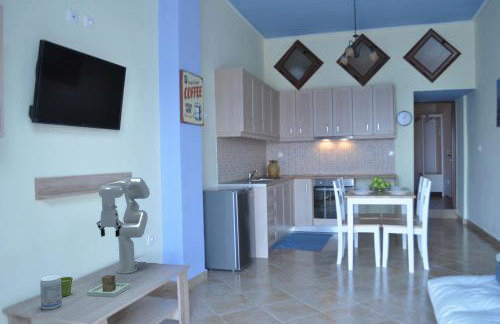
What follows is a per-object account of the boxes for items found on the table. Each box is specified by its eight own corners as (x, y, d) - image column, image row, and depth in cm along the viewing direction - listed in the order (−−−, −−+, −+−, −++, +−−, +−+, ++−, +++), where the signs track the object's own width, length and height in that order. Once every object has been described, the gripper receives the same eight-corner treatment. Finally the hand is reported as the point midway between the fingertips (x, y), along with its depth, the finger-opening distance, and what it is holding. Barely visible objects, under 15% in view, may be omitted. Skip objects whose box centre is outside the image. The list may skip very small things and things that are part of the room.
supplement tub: (42, 305, 212) (40, 276, 211) (62, 302, 215) (61, 274, 215) (40, 311, 203) (39, 281, 202) (61, 308, 206) (60, 278, 206)
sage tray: (105, 286, 240) (104, 282, 240) (130, 287, 236) (130, 283, 236) (87, 295, 224) (87, 291, 224) (114, 297, 220) (113, 293, 220)
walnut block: (107, 288, 233) (107, 274, 233) (115, 289, 232) (115, 274, 232) (102, 291, 228) (102, 277, 228) (110, 291, 227) (110, 277, 227)
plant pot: (66, 298, 221) (66, 282, 221) (51, 297, 223) (50, 281, 223) (77, 292, 230) (76, 276, 230) (62, 291, 232) (61, 276, 232)
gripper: (125, 206, 247) (126, 235, 248) (99, 207, 251) (101, 234, 252) (118, 208, 240) (119, 238, 240) (92, 208, 244) (93, 237, 245)
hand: (110, 236), depth 246 cm, fingers open, 9 cm apart
